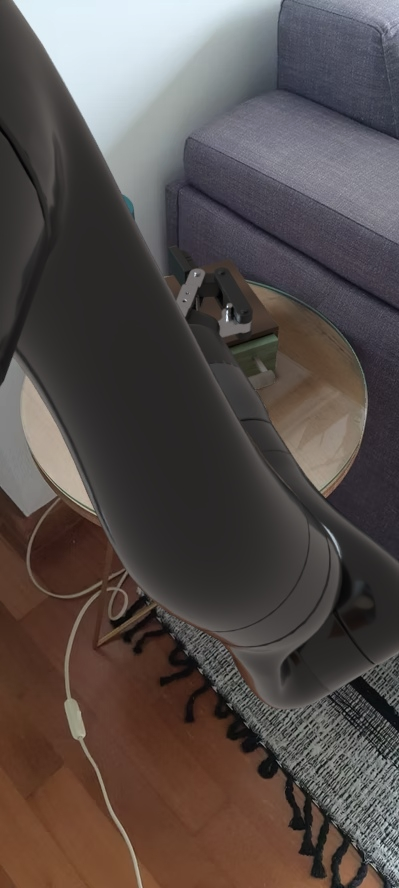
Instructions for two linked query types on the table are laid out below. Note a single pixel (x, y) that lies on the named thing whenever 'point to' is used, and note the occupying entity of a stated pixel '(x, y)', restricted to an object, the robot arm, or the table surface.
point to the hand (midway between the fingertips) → (122, 268)
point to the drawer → (258, 359)
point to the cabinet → (261, 317)
